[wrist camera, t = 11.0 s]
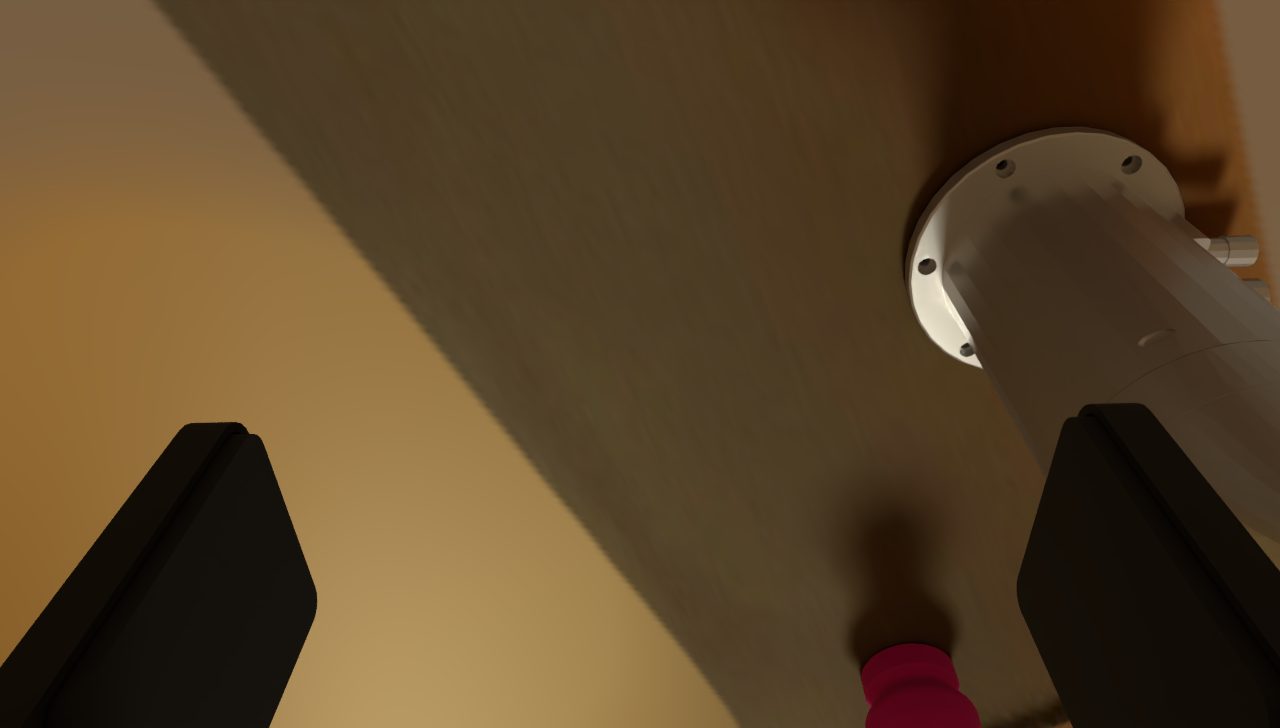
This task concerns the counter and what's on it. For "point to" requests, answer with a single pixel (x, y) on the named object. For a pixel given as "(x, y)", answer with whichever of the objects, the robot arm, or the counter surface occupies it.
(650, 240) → the counter surface
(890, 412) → the counter surface
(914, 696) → the pepper mill
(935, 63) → the counter surface
